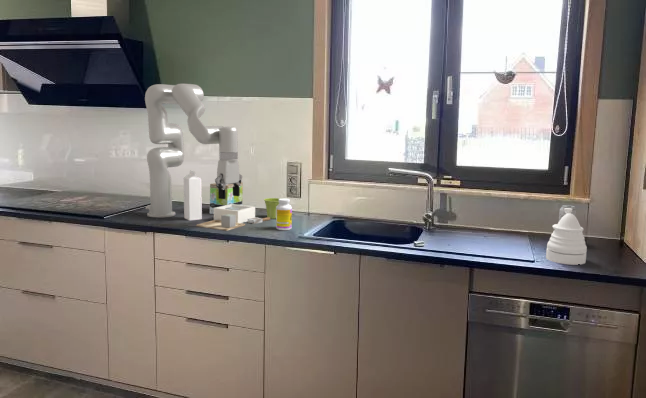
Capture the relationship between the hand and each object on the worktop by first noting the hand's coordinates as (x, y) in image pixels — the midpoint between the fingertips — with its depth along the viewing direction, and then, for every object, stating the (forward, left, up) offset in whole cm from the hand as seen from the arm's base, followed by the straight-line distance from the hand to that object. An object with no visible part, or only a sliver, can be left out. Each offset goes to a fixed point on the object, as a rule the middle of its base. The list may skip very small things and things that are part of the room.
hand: (229, 197), depth 229 cm
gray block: (0, 0, -13) cm, 13 cm away
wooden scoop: (+4, +17, -13) cm, 21 cm away
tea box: (-22, +28, -13) cm, 38 cm away
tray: (-4, 0, -13) cm, 14 cm away
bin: (-7, +14, -13) cm, 20 cm away
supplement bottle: (+21, +11, -13) cm, 27 cm away
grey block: (-10, +15, -13) cm, 22 cm away
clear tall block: (+128, +51, -13) cm, 138 cm away
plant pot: (+4, +30, -13) cm, 33 cm away
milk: (-24, +6, -13) cm, 28 cm away
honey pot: (+130, +23, -13) cm, 132 cm away
